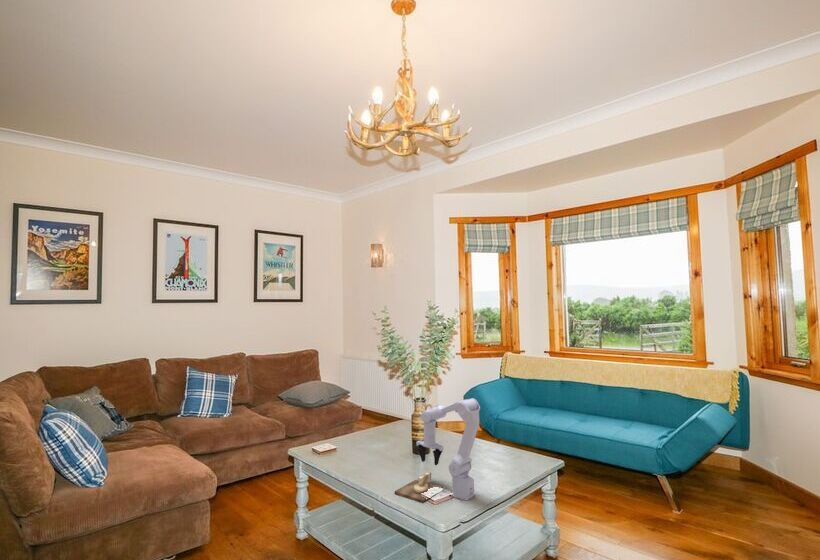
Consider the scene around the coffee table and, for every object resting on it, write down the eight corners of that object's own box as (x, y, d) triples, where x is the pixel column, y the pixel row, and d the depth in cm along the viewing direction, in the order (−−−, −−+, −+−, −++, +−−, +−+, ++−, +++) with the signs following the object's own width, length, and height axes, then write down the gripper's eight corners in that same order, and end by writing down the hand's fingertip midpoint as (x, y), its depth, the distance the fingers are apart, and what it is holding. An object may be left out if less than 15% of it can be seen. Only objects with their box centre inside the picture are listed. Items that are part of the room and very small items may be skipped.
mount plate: (442, 490, 209) (442, 487, 209) (423, 503, 196) (423, 500, 196) (415, 482, 218) (415, 479, 218) (394, 494, 205) (394, 491, 206)
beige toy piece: (423, 495, 201) (423, 481, 201) (411, 491, 204) (411, 478, 205) (435, 486, 210) (435, 473, 210) (424, 483, 213) (424, 470, 214)
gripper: (446, 435, 218) (446, 463, 217) (421, 430, 226) (422, 457, 226) (438, 438, 212) (439, 468, 211) (413, 433, 220) (414, 461, 220)
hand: (429, 462), depth 218 cm, fingers open, 7 cm apart
